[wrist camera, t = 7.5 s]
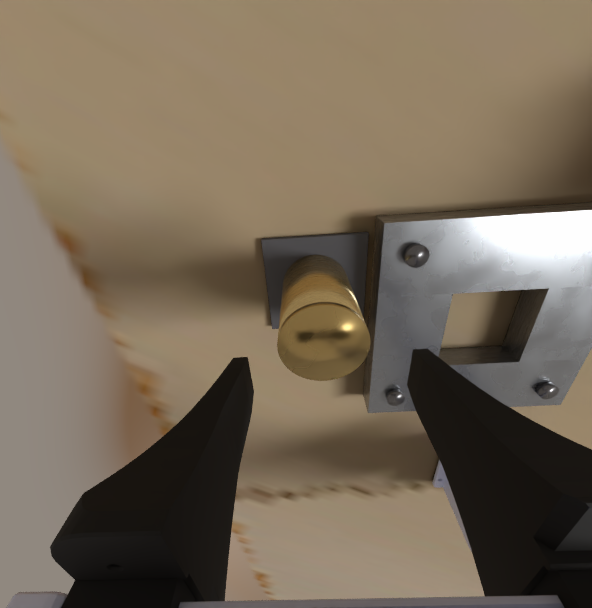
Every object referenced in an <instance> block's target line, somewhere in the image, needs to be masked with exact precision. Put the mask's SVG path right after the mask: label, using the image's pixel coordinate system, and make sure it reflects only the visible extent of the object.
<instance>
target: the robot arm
mask: <svg viewBox="0 0 592 608" xmlns="http://www.w3.org/2000/svg"><path fill="white" fill-rule="evenodd" d="M407 386H408V389H409V392H410V396H411V399H412V401H413V404H414V407H415V409H416V411H417V414H418V416H419V418H420V420H421V422H422V424H423V426H424V428H425V430H426V432H427V434H428V436H429V439H430V441H431V443H432V445H433V447H434V449H435V451H436V453H437V455H438V457H439V462H438V466H437V469H436V472H435V476H434V479H433V485H434V487H443V488H444V491H445V493H446V495H447V498H448V500H449V502H450V505H451V507H452V509H453V512H454V514H455V516H456V519H457V521H458V523H459V526H460V528H461V530H462V532H463V535H464V537H465V539H466V542H467V544H468V546H469V548H470V550H471V552H472V553H473V557H474V560H475V563H476V567H477V570H478V574H479V577H480V580H481V584H482V587H483V591H484V594H485V596H483V597H428V598H372V599H317V600H264V601H263V600H261V601H225V589H226V578H227V567H228V556H229V547H230V546H229V545H230V537H231V527H232V519H233V510H234V502H235V494H236V487H237V479H238V472H239V467H240V462H241V457H242V453H243V449H244V444H245V440H246V436H247V431H248V427H249V422H250V418H251V413H252V404H253V394H254V390H253V384H252V379H251V373H250V368H249V362H248V357H240V358H233V359H232V360H231V362H230V363H229V364H228V366H227V367H226V368H225V370H224V371H223V373H222V374H221V375H220V376H219V378H218V379H217V380H216V382H215V383H214V384H213V385H212V387H211V388H210V389H209V390H208V391H207V393H206V394H205V395H204V396H203V397H202V398H201V400H200V401H199V402H198V403H197V404H196V405H195V406H194V407H193V409H192V410H191V411H190V412H189V413H188V414H187V415H186V416H185V417H184V418H183V419H182V420H181V421H180V422H179V423H178V424H177V425H176V426H175V427H173V428H172V429H171V430H170V431H169V432H168V433H167V434H166V435H164V436H163V437H162V438H161V439H160V440H158V441H157V442H156V443H155V444H154V445H152V446H151V447H150V448H149V449H148V450H146V451H145V452H144V453H142V454H141V455H140V456H138V457H137V458H136V459H134V460H133V461H132V462H130V463H129V464H128V465H126V466H125V467H123V468H122V469H120V470H119V471H117V472H116V473H114V474H113V475H111V476H110V477H109V478H107V479H105V480H104V481H102V482H101V483H99V484H97V485H96V486H95V487H93V488H91V489H90V490H88V491H87V492H85V493H84V494H83V495H82V496H81V498H80V499H79V501H78V502H77V504H76V505H75V507H74V508H73V510H72V512H71V513H70V515H69V517H68V518H67V520H66V521H65V523H64V525H63V526H62V528H61V530H60V531H59V533H58V534H57V536H56V538H55V539H54V541H53V543H52V545H51V547H50V548H51V554H52V557H53V558H54V560H55V561H56V562H57V563H58V564H59V565H60V566H61V567H62V568H63V569H64V570H65V571H66V572H67V573H68V574H70V576H72V577H73V578H74V579H75V582H74V584H73V586H72V588H71V590H70V592H69V594H68V595H67V594H65V593H61V592H19V593H17V594H15V595H14V596H13V597H12V599H11V601H10V602H9V604H8V605H7V607H6V608H592V450H591V449H589V448H587V447H584V446H582V445H580V444H578V443H576V442H573V441H571V440H569V439H567V438H565V437H563V436H561V435H559V434H557V433H555V432H553V431H551V430H549V429H547V428H545V427H543V426H541V425H540V424H538V423H536V422H534V421H532V420H530V419H528V418H527V417H525V416H523V415H521V414H520V413H518V412H516V411H515V410H513V409H511V408H510V407H508V406H506V405H504V404H503V403H501V402H500V401H498V400H497V399H495V398H494V397H492V396H491V395H489V394H488V393H486V392H485V391H483V390H482V389H480V388H479V387H477V386H476V385H475V384H473V383H472V382H470V381H469V380H468V379H466V378H465V377H464V376H462V375H461V374H460V373H458V372H457V371H456V370H454V369H453V368H452V367H450V366H449V365H448V364H447V363H445V362H444V361H443V360H442V359H440V358H439V357H438V356H436V355H435V354H434V353H433V352H431V351H430V350H428V349H413V352H412V358H411V364H410V370H409V376H408V382H407Z"/></svg>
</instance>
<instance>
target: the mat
mask: <svg viewBox="0 0 592 608" xmlns="http://www.w3.org/2000/svg"><path fill="white" fill-rule="evenodd" d="M368 235H369V233H368V232H358V233H342V234H326V235H310V236H294V237H278V238H262V240H261V242H262V250H263V258H264V266H265V274H266V282H267V290H268V298H269V306H270V314H271V322H272V329H279V322H280V311H281V301H282V290H283V281H284V277H285V274H286V272H287V270H288V269H289V267H290V266H291V265H292V264H293V263H294V262H296V261H297V260H299V259H301V258H303V257H306V256H309V255H324V256H327V257H330V258H332V259H334V260H336V261H337V262H338V263H339V264H340V265H341V266H342V267H343V269H344V270H345V272H346V275H347V277H348V280H349V282H350V285H351V287H352V290H353V293H354V295H355V298H356V300H357V303H358V305H359V308H360V311H361V313H362V316H363V317H364V301H365V285H366V268H367V252H368Z"/></svg>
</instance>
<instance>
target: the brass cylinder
mask: <svg viewBox="0 0 592 608" xmlns="http://www.w3.org/2000/svg"><path fill="white" fill-rule="evenodd" d="M277 347H278V353H279V356H280V358H281V360H282V362H283V363H284V365H285V366H286V367H287V368H288V369H289V370H290V371H292V372H293V373H295V374H297V375H299V376H301V377H303V378H306V379H310V380H318V381H326V380H333V379H338V378H341V377H343V376H346V375H348V374H349V373H351V372H353V371H354V370H355V369H357V368H358V367H359V366H360V365H361V364H362V363H363V361H364V360H365V358H366V357H367V355H368V352H369V349H370V334H369V331H368V328H367V326H366V323H365V321H364V318H363V316H362V313H361V311H360V308H359V305H358V303H357V300H356V298H355V295H354V293H353V290H352V287H351V285H350V282H349V280H348V277H347V275H346V272H345V270H344V269H343V267H342V266H341V265H340V264H339V263H338V262H337V261H336V260H334V259H332V258H330V257H327V256H324V255H309V256H306V257H303V258H301V259H299V260H297V261H296V262H294V263H293V264H292V265H291V266H290V267H289V269H288V270H287V272H286V274H285V277H284V281H283V290H282V301H281V311H280V322H279V332H278V344H277Z"/></svg>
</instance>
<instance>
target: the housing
mask: <svg viewBox="0 0 592 608" xmlns="http://www.w3.org/2000/svg"><path fill="white" fill-rule="evenodd" d="M509 290H522V292H521V295H520V298H519V301H518V304H517V306H516V309H515V312H514V315H513V318H512V320H511V323H510V326H509V329H508V332H507V334H506V337H505V340H504V343H503V346H490V347H470V348H449V349H440V348H441V343H442V339H443V334H444V330H445V326H446V321H447V317H448V312H449V308H450V304H451V299H452V295H453V294H455V293H473V292H491V291H509ZM368 331H369V334H370V349H369V352H368V355H367V357H366V363H365V377H364V391H363V396H364V400H365V403H366V407H367V411H368V413H377V412H401V411H416V409H415V407H414V404H413V401H412V399H411V396H410V392H409V389H408V386H407V382H408V376H409V370H410V364H411V358H412V352H413V349H428V350H430V351H431V352H433V353H434V354H435V355H436V356H438V357H439V358H440V359H442V360H443V361H444V362H445V363H447V364H448V365H449V366H450V367H452V368H453V369H454V370H456V371H457V372H458V373H460V374H461V375H462V376H464V377H465V378H466V379H468V380H469V381H470V382H472V383H473V384H475V385H476V386H477V387H479V388H480V389H482V390H483V391H485V392H486V393H488V394H489V395H491V396H492V397H494V398H495V399H497V400H498V401H500V402H501V403H503V404H504V405H506V406H508V407H518V406H541V405H561V403H562V401H563V399H564V398H565V396H566V394H567V392H568V390H569V388H570V387H571V385H572V383H573V381H574V379H575V377H576V376H577V374H578V372H579V370H580V368H581V367H582V365H583V363H584V361H585V359H586V357H587V356H588V354H589V352H590V350H591V348H592V202H587V203H572V204H556V205H540V206H524V207H509V208H493V209H477V210H462V211H446V212H430V213H415V214H399V215H383V216H376V222H375V236H374V250H373V265H372V279H371V293H370V307H369V321H368Z"/></svg>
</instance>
